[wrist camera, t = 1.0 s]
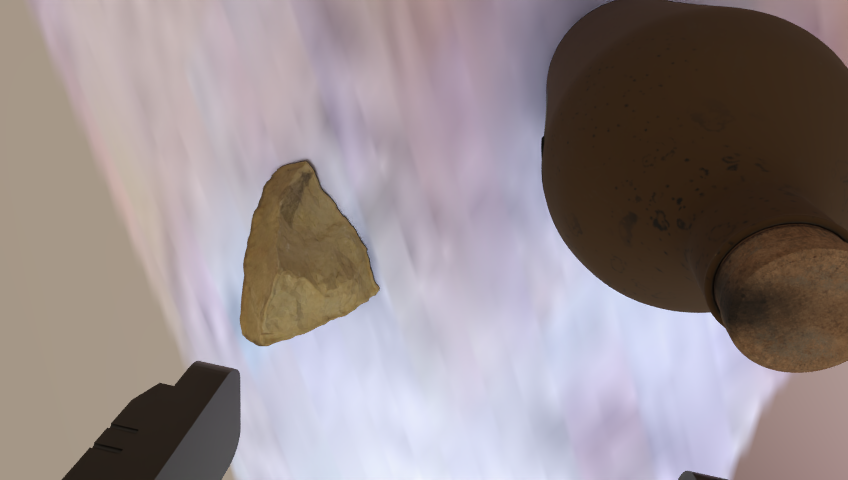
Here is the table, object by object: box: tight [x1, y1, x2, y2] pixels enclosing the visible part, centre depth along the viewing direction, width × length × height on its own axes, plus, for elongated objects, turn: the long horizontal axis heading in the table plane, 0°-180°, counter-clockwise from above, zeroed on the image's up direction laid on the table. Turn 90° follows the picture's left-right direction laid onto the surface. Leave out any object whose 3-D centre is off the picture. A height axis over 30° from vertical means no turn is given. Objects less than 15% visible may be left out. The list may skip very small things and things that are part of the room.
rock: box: [240, 161, 379, 346], centre depth 39 cm, size 11×9×10 cm
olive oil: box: [541, 0, 848, 373], centre depth 23 cm, size 11×11×25 cm
